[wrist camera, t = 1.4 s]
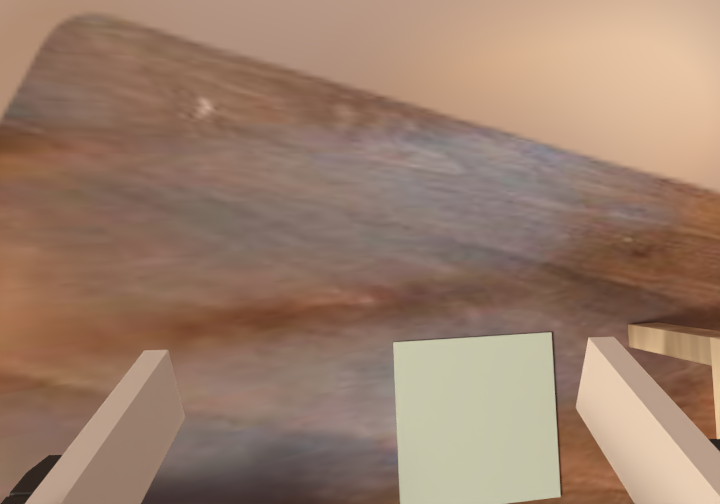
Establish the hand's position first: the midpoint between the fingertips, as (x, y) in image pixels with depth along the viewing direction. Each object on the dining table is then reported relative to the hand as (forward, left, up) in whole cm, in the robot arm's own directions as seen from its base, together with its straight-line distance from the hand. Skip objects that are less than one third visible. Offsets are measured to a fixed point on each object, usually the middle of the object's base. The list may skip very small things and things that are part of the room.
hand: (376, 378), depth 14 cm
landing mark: (-10, -12, -22) cm, 27 cm away
